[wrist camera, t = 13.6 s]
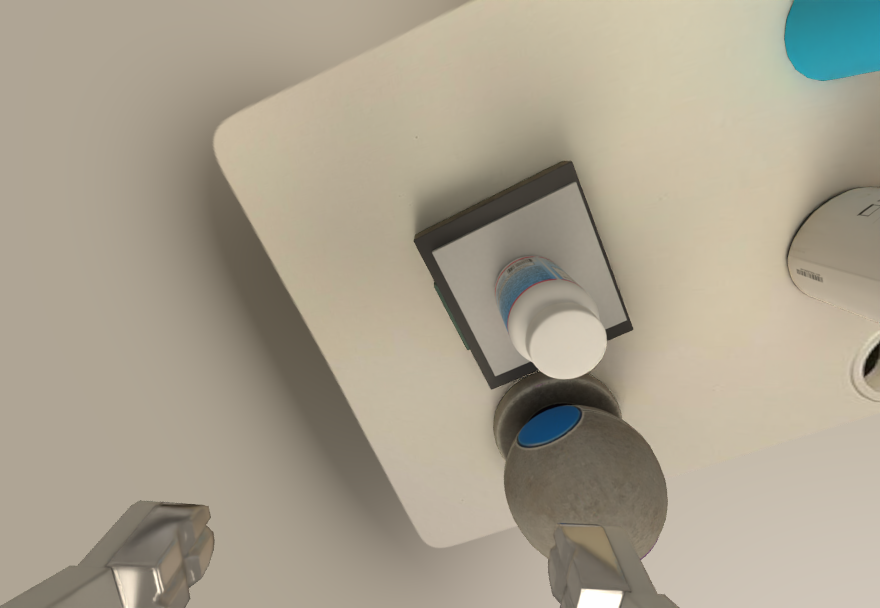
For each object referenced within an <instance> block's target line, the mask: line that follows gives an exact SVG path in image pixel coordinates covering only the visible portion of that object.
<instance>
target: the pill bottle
mask: <svg viewBox="0 0 880 608" xmlns="http://www.w3.org/2000/svg"><path fill="white" fill-rule="evenodd" d="M495 300H496V304H497V307H498V309H499V312H500V314H501V317H502V319H503V321H504V324H505V326H506V329H507V331H508V334H509V336H510V339H511V341H512V343H513V345H514V347H515V348H516V350H517V351H518V352H519V353H520V354H521V355H522V356H523V357H524V358H526V359H527V360H529V361H531V362H533V363H534V365H535V366H536V367H537V368H538V369H539V370H540V371H541V372H542V373H544V374H545V375H547V376H549V377H553V378H557V379H572V378H576V377H579V376H582V375H584V374H586V373H587V372H589V371H591V370H592V369H593V368H594V367H595V366H596V365H597V364H598V363H599V362H600V360H601V359H602V357H603V355H604V353H605V350H606V345H607V336H606V331H605V328H604V326H603V325H602V323H601V322H600V317H599V312H598V308H597V305H596V303H595V302H594V300H593V298H592V297H591V296H590V295H589V294H588V293H587V292H586V291H585V290H584V289H583V288H582V287H581V286H580V285H579V284H578V283H577V282H575V281H574V280H573V279H572V278H571V277H570V276H569V275H568V274H567V273H566V272H564V271H563V270H562V269H561V268H560V267H559V266H558V265H557V264H555V263H554V262H553V261H551V260H549V259H547V258H545V257H541V256H535V255H530V256H523V257H520V258H517V259H515V260H513V261H512V262H510V263H509V264H508V265H506V266H505V267H504V268H503V270H502V271H501V272H500V274H499V276H498V278H497V281H496V284H495Z"/></svg>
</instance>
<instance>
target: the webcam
mask: <svg viewBox="0 0 880 608" xmlns="http://www.w3.org/2000/svg"><path fill="white" fill-rule="evenodd" d="M493 428H494V435H495V440H496V444H497V447H498V449H499V451H500V453H501V455H502V457H503V459H504V460H505V461H506V464H505V470H504V488H505V494H506V498H507V502H508V505H509V509H510V511H511V513H512V515H513V518H514V520H515V522H516V523H517V525H518V527H519V529H520V530H521V532H522V533H523V534H524V536H525V537H526V538H527V540H528V541H529V542H530V544H531V545H532V546H533V547H534V548H536V549H537V550H538V551H539V552H540V553H541V554H543V555H544V556H545V557H547V558H549V552H550V549H551V548H552V547H553V546H554V545H555V544H556V543H555V540H554V537H553V532H554V528H555V526H556V524H557V523H577V524H598V525H620V526H622V527H623V528H624V529H625V530H626V532H627V534H628V536H629V538H630V540H631V542H632V544H633V546H634V548H635V550H636V552H637V554H638V556H639V558H640V560H641V559H642V558H644V557H645V556H646V555H647V554H648V553H649V552H650V551H651V549H652V548H653V547H654V545H655V543H656V542H657V540H658V537H659V535H660V533H661V531H662V528H663V526H664V523H665V520H666V513H667V505H668V499H667V489H666V482H665V478H664V475H663V473H662V470H661V467H660V464H659V462H658V460H657V458H656V456H655V455H654V453H653V451H652V449H651V447H650V446H649V444H648V443H647V442H646V440H645V439H644V438H643V437H642V435H641V434H639V433H638V432H637V431H636V430H635V429H634V428H633V427H631V426H630V425H629V424H628V423H626V422H625V421H623V420H622V416H621V412H620V409H619V406H618V404H617V402H616V400H615V398H614V397H613V395H612V394H611V392H610V391H609V390H608V388H607V387H606V386H605V385H604V384H603V383H601V382H600V381H599V380H598V379H596V378H594V377H593V376H591V375H589V374H584V375H582V376H579V377H576V378H572V379H557V378H553V377H549V376H547V375H545V374H544V373H542V372H539V373H536V374H533V375H531V376H529V377H527V378H525V379H523V380H522V381H520V382H519V383H517V384H516V385H514V386H513V387H512V388H511V389H510V390H509V391H508V392H507V393H506V394H505V396H504V397H503V399H502V400H501V402H500V403H499V405H498V408H497V410H496V413H495V417H494V426H493Z"/></svg>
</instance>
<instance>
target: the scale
mask: <svg viewBox="0 0 880 608" xmlns="http://www.w3.org/2000/svg"><path fill="white" fill-rule="evenodd" d="M414 243H415V244H416V246H417V248H418V250H419V252H420V254H421V256H422V258H423V260H424V262H425V264H426V266H427V267H428V269H429V271H430V273H431V275H432V277H433V279H434V281H435V282H434V288H435V289H436V291H437V293H438V295H439V297H440V299H441V301H442V303H443V305H444V307H445V308H446V310H447V312H448V314H449V316H450V318H451V320H452V322H453V324H454V326H455V328H456V329H457V331H458V333H459V335H460V337H461V339H462V341H463V343H464V345H465V347H466V348H467V350H471V352H472V354H473V356H474V358H475V359H476V361H477V363H478V365H479V367H480V369H481V371H482V373H483V375H484V377H485V379H486V381H487V382H488V384H489V386H490V388H491V389H494V388H497V387H499V386H501V385H504V384H506V383H508V382H511V381H513V380H516V379H518V378H520V377H523V376H525V375H527V374H530V373H532V372H534V371H537V370H539V369H538V368H537V367H536V366H535V365H534V363H533V362H531V361H529V360H527V359H526V358H524V357H523V356H522V355H521V354H520V353H519V352H518V351H517V350H516V348H515V347H514V345H513V343H512V341H511V339H510V336H509V334H508V331H507V329H506V326H505V324H504V321H503V319H502V317H501V314H500V312H499V309H498V307H497V304H496V300H495V284H496V281H497V278H498V276H499V274H500V272H501V271H502V270H503V268H504V267H505V266H506V265H508V264H509V263H510V262H512V261H513V260H515V259H517V258H520V257H523V256H530V255H535V256H541V257H545V258H547V259H549V260H551V261H553V262H554V263H555V264H557V265H558V266H559V267H560V268H561V269H562V270H563V271H564V272H566V273H567V274H568V275H569V276H570V277H571V278H572V279H573V280H574V281H575V282H577V283H578V284H579V285H580V286H581V287H582V288H583V289H584V290H585V291H586V292H587V293H588V294H589V295H590V296H591V297H592V298H593V300H594V302H595V303H596V305H597V308H598V312H599V317H600V322H601V323H602V325H603V326H604V328H605V331H606V336H607V341H608V340H610V339H613V338H615V337H617V336H620V335H622V334H624V333H627V332H629V331H632V330H633V327H632V324H631V321H630V319H629V316H628V313H627V310H626V308H625V305H624V302H623V299H622V297H621V294H620V291H619V289H618V286H617V283H616V280H615V278H614V275H613V272H612V269H611V267H610V264H609V261H608V259H607V256H606V253H605V250H604V248H603V245H602V242H601V239H600V237H599V234H598V231H597V229H596V226H595V223H594V220H593V218H592V215H591V212H590V209H589V207H588V204H587V201H586V199H585V196H584V193H583V190H582V188H581V185H580V182H579V179H578V177H577V174H576V171H575V168H574V166H573V163H572V161H562V162H560V163H558V164H556V165H554V166H552V167H550V168H548V169H546V170H544V171H542V172H540V173H538V174H536V175H534V176H532V177H530V178H528V179H526V180H524V181H522V182H520V183H518V184H516V185H514V186H512V187H510V188H508V189H506V190H504V191H502V192H500V193H498V194H496V195H494V196H492V197H490V198H488V199H486V200H484V201H482V202H480V203H478V204H476V205H474V206H472V207H470V208H468V209H466V210H464V211H462V212H460V213H458V214H456V215H454V216H452V217H450V218H448V219H446V220H444V221H442V222H440V223H438V224H436V225H434V226H432V227H430V228H428V229H426V230H424V231H422V232H420V233H418V234H416V235H415V237H414Z"/></svg>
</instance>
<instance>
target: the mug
mask: <svg viewBox="0 0 880 608" xmlns="http://www.w3.org/2000/svg"><path fill="white" fill-rule="evenodd" d="M785 44H786V50H787V55H788V57H789V59H790V61H791V62H792V64H793V66H794V67H795V69H796V70H797V71H799V72H800V73H802V74H803V75H805V76H806V77H807V78H811V79H816V80H821V81H826V80H832V79H838V78H844V77H849V76H854V75H859V74H864V73H869V72H875V71H880V0H794V2H793V5H792V7H791V10H790V12H789V15H788V17H787V22H786V30H785Z"/></svg>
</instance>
